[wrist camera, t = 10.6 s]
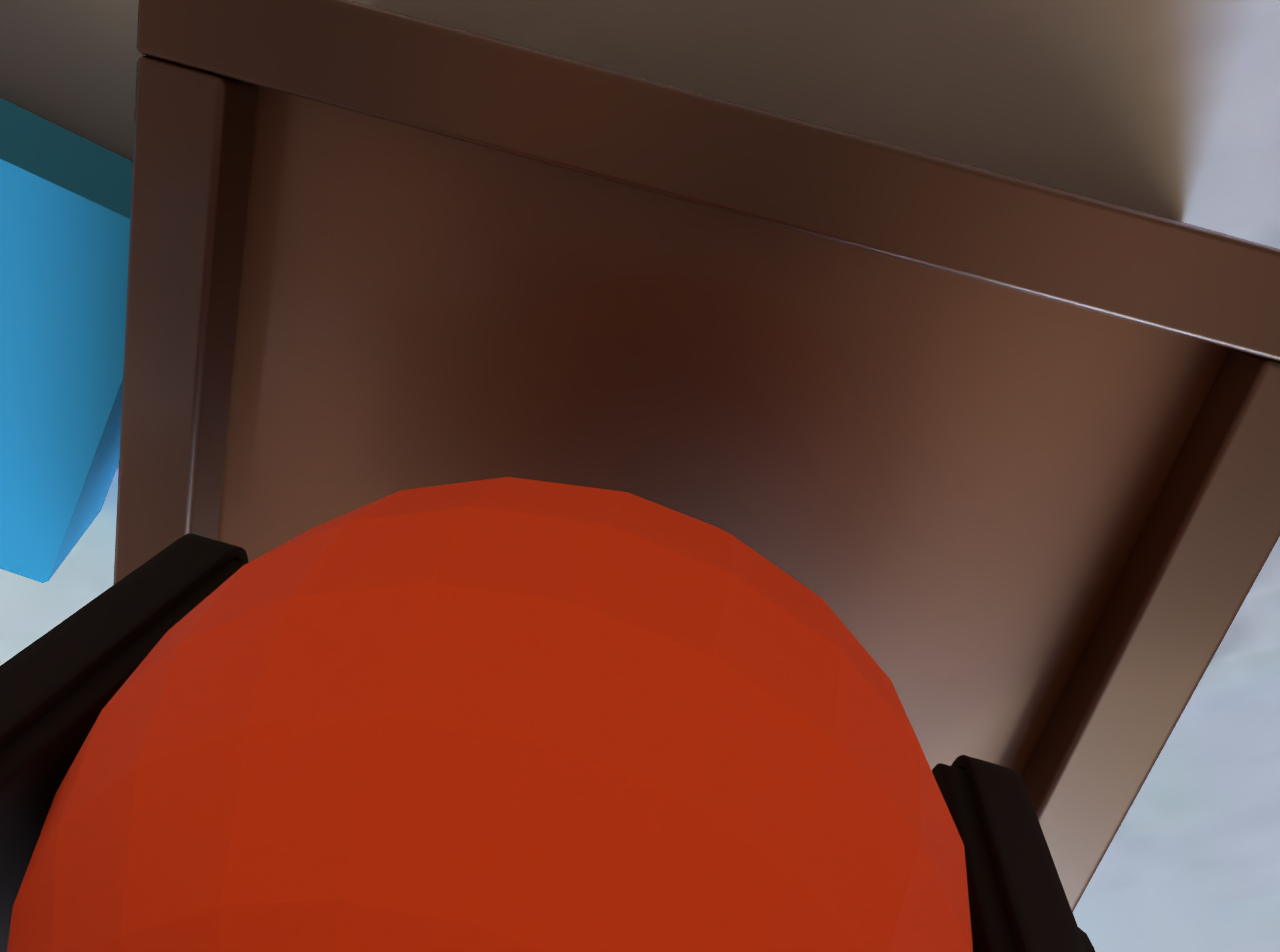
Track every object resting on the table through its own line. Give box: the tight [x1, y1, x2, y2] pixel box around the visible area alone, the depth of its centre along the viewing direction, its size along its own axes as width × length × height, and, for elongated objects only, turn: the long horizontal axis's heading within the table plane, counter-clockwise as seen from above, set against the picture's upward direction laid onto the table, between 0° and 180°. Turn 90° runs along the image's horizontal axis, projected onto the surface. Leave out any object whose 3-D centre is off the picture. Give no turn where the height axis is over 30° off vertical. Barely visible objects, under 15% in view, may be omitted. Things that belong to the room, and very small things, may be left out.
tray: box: [114, 0, 1280, 912], centre depth 15 cm, size 13×13×6 cm
